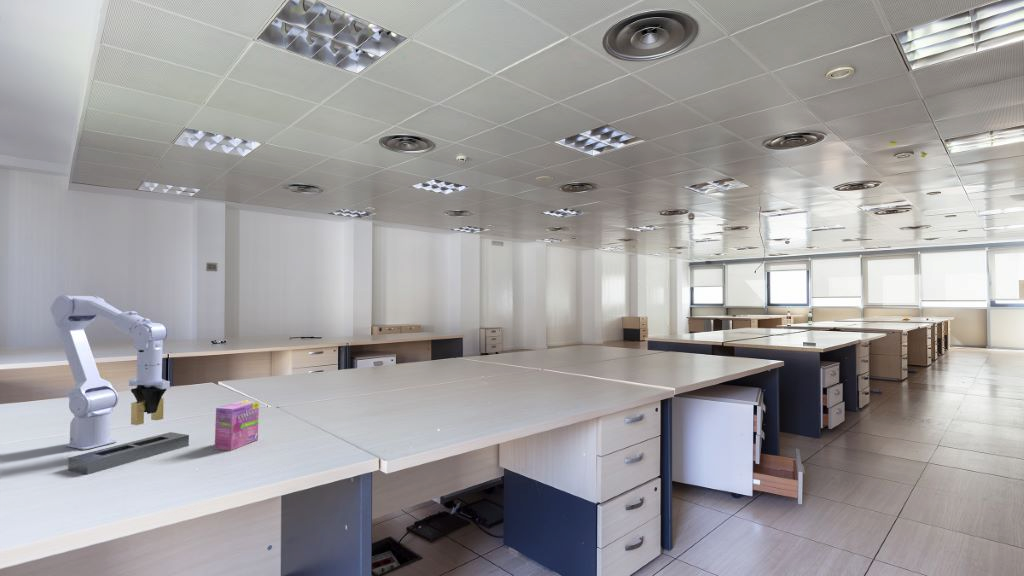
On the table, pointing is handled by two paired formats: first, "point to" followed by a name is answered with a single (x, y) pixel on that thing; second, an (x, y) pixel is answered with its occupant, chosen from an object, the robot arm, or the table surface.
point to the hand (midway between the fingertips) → (148, 412)
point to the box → (236, 425)
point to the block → (126, 452)
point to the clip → (139, 409)
